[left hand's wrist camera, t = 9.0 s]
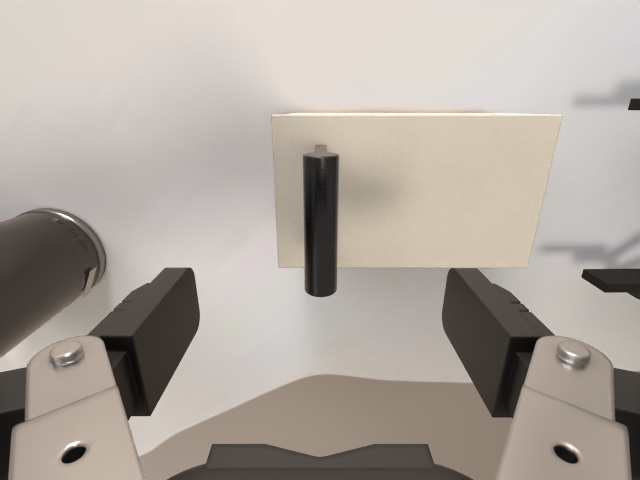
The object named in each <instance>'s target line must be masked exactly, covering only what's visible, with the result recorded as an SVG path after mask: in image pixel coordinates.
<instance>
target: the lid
mask: <svg viewBox="0 0 640 480" xmlns="http://www.w3.org/2000/svg"><path fill="white" fill-rule="evenodd" d="M561 120H562V115H272V138H273V160H274V182H275V204H276V226H277V247H278V267H279V268H305V291H306V292H307V293H308V294H309V295H312V296H316V297H326V296H330V295H332V294H334V293H335V292H336V290H337V268H528V264H529V259H530V255H531V251H532V246H533V242H534V238H535V233H536V229H537V224H538V220H539V216H540V211H541V207H542V203H543V198H544V194H545V190H546V185H547V181H548V177H549V172H550V168H551V164H552V159H553V155H554V151H555V146H556V142H557V138H558V133H559V129H560V125H561Z"/></svg>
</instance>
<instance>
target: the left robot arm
mask: <svg viewBox="0 0 640 480" xmlns="http://www.w3.org/2000/svg"><path fill="white" fill-rule="evenodd" d="M104 270H105V254H104V250H103V247H102V245H101V243H100V241H99V239H98V237H97V236H96V235H95V233H94V232H93V231H92V230H91V229H90V228H89V227H88V226H87V225H86V224H85V223H84V222H83V221H81V220H80V219H78V218H77V217H75V216H73V215H71V214H69V213H67V212H64V211H61V210H57V209H51V208H40V209H34V210H31V211H28V212H25V213H22V214H20V215H18V216H17V217H15V218H12V219H9V220H6V221H3V222H0V358H1V357H2V356H4V355H5V354H6V353H7V352H9V351H10V350H11V349H13V348H14V347H15V346H16V345H18V344H19V343H20V342H22V341H23V340H24V339H25V338H27V337H28V336H29V335H31V334H32V333H33V332H34V331H36V330H37V329H38V328H40V327H41V326H42V325H43V324H45V323H46V322H47V321H48V320H50V319H51V318H52V317H54V316H55V315H56V314H57V313H59V312H60V311H61V310H63V309H64V308H65V307H66V306H68V305H69V304H71V303H72V302H73V301H74V300H76V299H77V298H78V297H79V296H81V295H82V294H84V296H83V297H85V296H86V295H87V294H88V293H90V290H91V288H93V287H94V286H95V285H96V284H97V283H98V282H99V281H100V279H101V278H102V276H103V273H104ZM199 320H200V311H199V304H198V297H197V289H196V282H195V276H194V272H193V270H192V269H191V268H165V269H164V270H163V271H162V272H161V273H160V274H159V275H158V276H157V277H156V278H155V279H154V280H153V281H152V282H151V283H147V284H145V285H143V286H141V287H139V288H137V289H136V290H134V291H132V292H131V293H130V294H129V295H128V296H127V297H126V298H125V299H124V300H123V301H122V303H120V304H119V305H118V306H117V307H116V308H115V309H114V311H112V312H111V313H110V314H109V315H107V316H106V317H105V318H104V319H103V320H102V321H101V322H100V323H99V324H98V325H97V326H96V327H95V328H94V329H93V330H92V331H91V332H90V333H89V334H88V335H87V336H77V337H72V338H68V339H65V340H62V341H59V342H57V343H54V344H52V345H50V346H48V347H46V348H45V349H43V350H41V351H40V352H39V353H37V354H36V355H35V356H34V357H33V358H32V359H31V360H30V361H29V363H28V365H27V367H26V368H21V369H15V370H10V371H5V372H0V480H145V477H144V474H143V471H142V467H141V464H140V461H139V457H138V454H137V450H136V447H135V444H134V440H133V437H132V433H131V430H130V427H129V423H128V420H129V419H130V417H131V416H151V414H152V412H153V410H154V408H155V407H156V405H157V403H158V401H159V399H160V397H161V396H162V394H163V392H164V390H165V388H166V387H167V385H168V383H169V381H170V379H171V378H172V376H173V374H174V372H175V370H176V368H177V367H178V365H179V363H180V361H181V359H182V358H183V356H184V354H185V352H186V350H187V348H188V347H189V345H190V343H191V341H192V339H193V338H194V336H195V334H196V332H197V330H198V326H199ZM442 322H443V327H444V331H445V333H446V335H447V337H448V338H449V340H450V342H451V344H452V346H453V347H454V349H455V351H456V353H457V355H458V356H459V358H460V360H461V362H462V363H463V365H464V367H465V369H466V371H467V372H468V374H469V376H470V378H471V380H472V381H473V383H474V385H475V387H476V389H477V390H478V392H479V394H480V396H481V398H482V399H483V401H484V403H485V405H486V407H487V408H488V410H489V412H490V414H491V415H492V417H512V418H513V420H512V424H511V427H510V430H509V434H508V437H507V440H506V444H505V447H504V450H503V454H502V457H501V460H500V464H499V467H498V471H497V474H496V477H495V480H640V373H637V372H632V371H627V370H622V369H617V368H613V365H612V363H611V361H610V360H609V359H608V358H607V357H606V356H605V355H604V354H603V353H601V352H600V351H599V350H597V349H595V348H594V347H592V346H590V345H588V344H586V343H583V342H581V341H578V340H575V339H572V338H568V337H563V336H555V335H554V334H553V333H552V332H551V331H550V330H549V329H548V328H547V327H546V326H545V325H544V324H543V323H542V322H541V321H540V320H539V319H538V318H537V317H535V316H534V315H533V314H532V313H531V312H529V310H528V309H527V308H526V307H525V306H524V305H523V304H520V301H519V300H518V299H517V298H516V297H515V296H514V295H513V294H512V293H511V292H509V291H507V290H506V289H504V288H502V287H500V286H498V285H496V284H492V283H491V282H490V281H489V280H488V279H487V278H486V277H485V276H484V275H483V274H482V273H481V272H480V271H479V270H478V269H476V268H451V269H450V270H449V272H448V276H447V282H446V289H445V296H444V303H443V310H442ZM167 480H473V479H471V478H469V477H468V476H465V475H463V474H461V473H459V472H457V471H455V470H452V469H449V468H447V467H444V466H441V465H437V464H434V462H433V459H432V456H431V453H430V450H429V447H428V444H373V445H369V446H366V447H361V448H357V449H353V450H349V451H345V452H342V453H337V454H333V455H329V456H325V457H315V456H311V455H307V454H303V453H299V452H295V451H291V450H287V449H283V448H279V447H275V446H271V445H267V444H212V447H211V450H210V453H209V456H208V459H207V462H206V464H203V465H199V466H196V467H193V468H191V469H188V470H185V471H183V472H181V473H179V474H177V475H175V476H172V477H171V478H169V479H167Z"/></svg>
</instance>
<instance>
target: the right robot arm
mask: <svg viewBox="0 0 640 480" xmlns="http://www.w3.org/2000/svg"><path fill="white" fill-rule="evenodd" d="M628 110H640V99H631V101H630V104H629V108H628ZM582 278H583V279H585V280H587V281H588V282H590V283H591V284H593V285H594V286H596V287H597V288H599V289H600V290H602V291H603V292H627V293H629V294H630V295H632V296H634V297H635V298H637V299H640V269H583V273H582Z"/></svg>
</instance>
